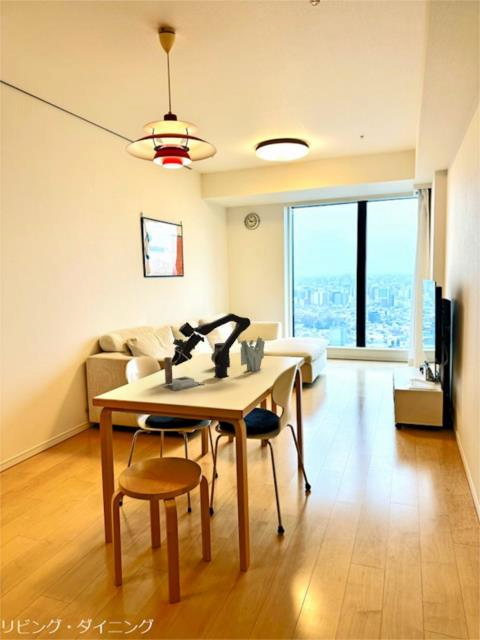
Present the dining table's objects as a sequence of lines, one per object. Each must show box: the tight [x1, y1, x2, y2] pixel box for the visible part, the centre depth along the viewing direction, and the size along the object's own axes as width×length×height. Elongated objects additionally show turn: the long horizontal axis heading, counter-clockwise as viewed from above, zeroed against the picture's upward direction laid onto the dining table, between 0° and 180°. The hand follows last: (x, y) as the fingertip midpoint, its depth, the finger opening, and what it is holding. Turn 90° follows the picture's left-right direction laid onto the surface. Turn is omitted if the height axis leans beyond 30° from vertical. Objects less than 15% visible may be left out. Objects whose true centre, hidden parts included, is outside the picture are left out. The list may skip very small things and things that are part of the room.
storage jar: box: [213, 342, 231, 368], centre depth 285 cm, size 10×10×15 cm
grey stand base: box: [162, 375, 205, 392], centre depth 235 cm, size 18×12×4 cm, turn 131°
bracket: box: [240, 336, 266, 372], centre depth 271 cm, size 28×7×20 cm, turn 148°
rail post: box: [163, 356, 174, 385], centre depth 244 cm, size 4×4×14 cm
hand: (173, 364), depth 245 cm, fingers open, 9 cm apart
